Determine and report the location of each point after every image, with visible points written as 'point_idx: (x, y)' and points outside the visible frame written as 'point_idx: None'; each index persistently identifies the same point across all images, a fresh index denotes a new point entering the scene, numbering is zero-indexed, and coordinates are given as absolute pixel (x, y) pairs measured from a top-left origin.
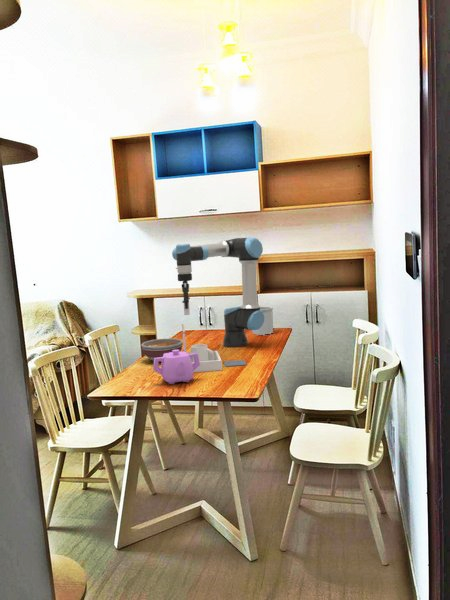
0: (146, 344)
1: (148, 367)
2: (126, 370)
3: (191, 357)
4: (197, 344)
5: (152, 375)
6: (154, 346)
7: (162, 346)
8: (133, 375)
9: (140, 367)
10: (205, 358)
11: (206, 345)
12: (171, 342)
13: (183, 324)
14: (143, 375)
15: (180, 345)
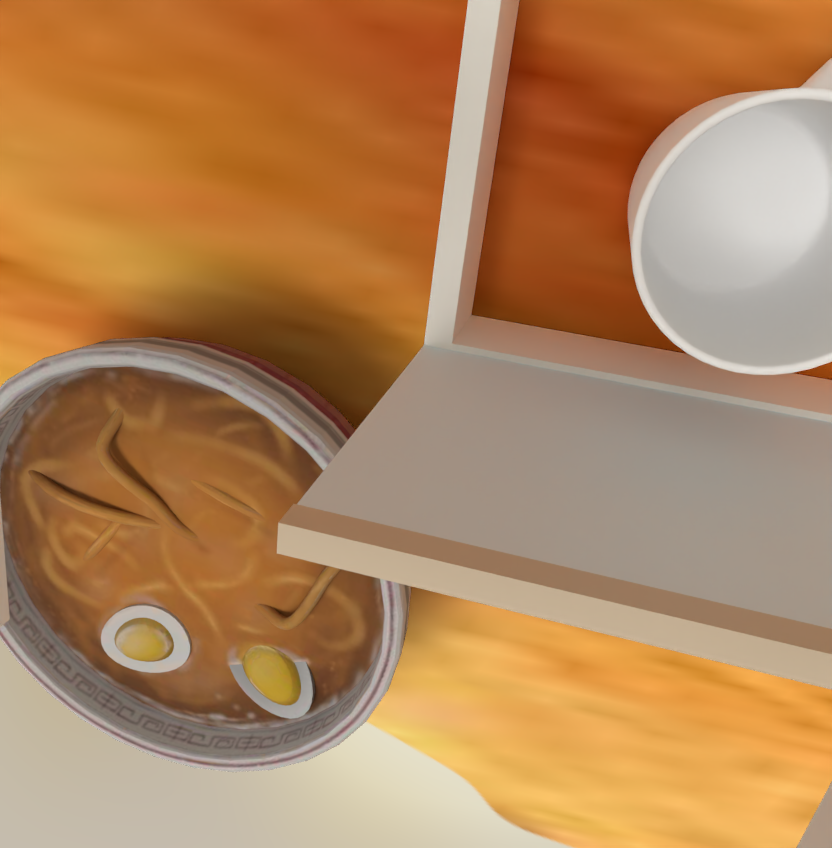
0: (90, 680)
1: (492, 660)
2: (506, 809)
3: (472, 265)
4: (637, 238)
5: (829, 708)
6: (186, 633)
7: (396, 639)
8: (717, 816)
9: (457, 708)
10: None
11: (798, 99)
12: (104, 459)
13: (346, 539)
14: (773, 762)
15: (292, 397)
